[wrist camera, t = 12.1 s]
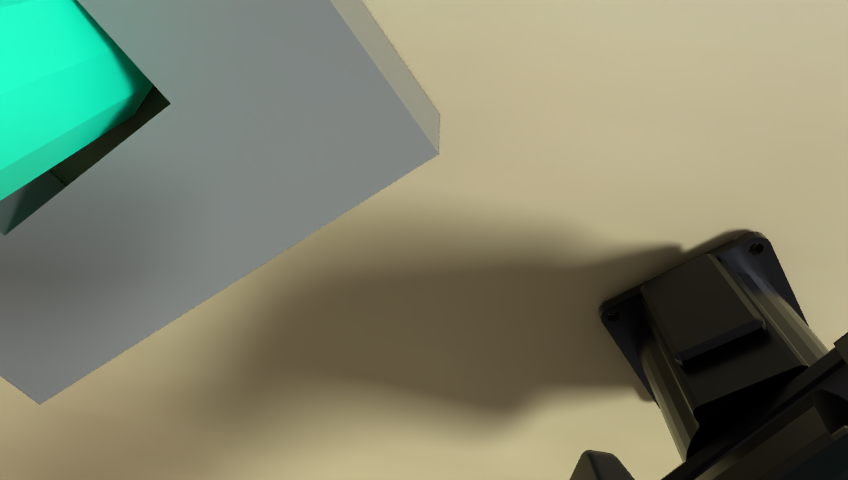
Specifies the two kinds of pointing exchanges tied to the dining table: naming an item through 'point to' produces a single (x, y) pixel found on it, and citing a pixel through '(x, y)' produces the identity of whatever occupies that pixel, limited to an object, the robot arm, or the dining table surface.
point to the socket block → (203, 173)
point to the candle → (58, 86)
